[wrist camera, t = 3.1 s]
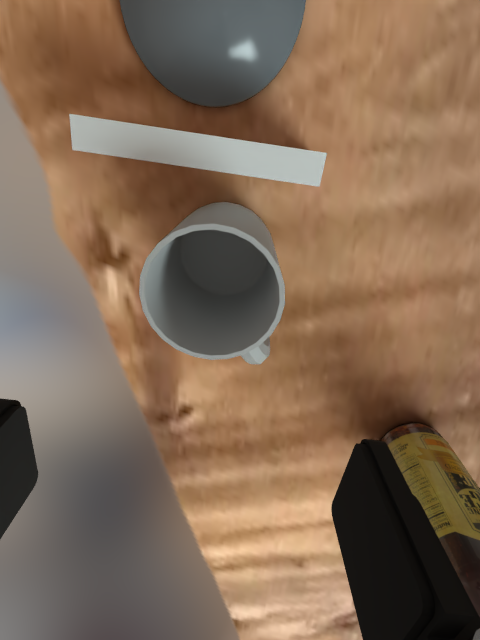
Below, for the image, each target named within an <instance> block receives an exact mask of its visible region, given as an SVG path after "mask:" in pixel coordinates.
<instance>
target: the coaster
mask: <svg viewBox="0 0 480 640" xmlns="http://www.w3.org/2000/svg"><path fill="white" fill-rule="evenodd" d="M305 2H306V0H120V5H121V11H122V15H123V19H124V22H125V26H126V29H127V31H128V34H129V37H130V39H131V42H132V44H133V46H134V48H135V50H136V52H137V54H138V55H139V57H140V58H141V60H142V62H143V63H144V65H145V66H146V67H147V69H148V70H149V71H150V72H151V74H152V75H153V76H154V77H155V78H156V79H157V80H158V81H159V82H160V83H161V84H162V85H163V86H164V87H166V88H167V89H168V90H170V91H171V92H172V93H173V94H175V95H177V96H178V97H180V98H182V99H184V100H186V101H188V102H191V103H193V104H197V105H201V106H205V107H226V106H231V105H235V104H238V103H241V102H243V101H246V100H248V99H249V98H251V97H253V96H255V95H256V94H258V93H259V92H260V91H261V90H263V89H264V88H265V87H266V86H267V85H268V84H269V83H270V82H271V81H272V80H273V79H274V78H275V77H276V75H277V74H278V73H279V72H280V70H281V69H282V68H283V66H284V64H285V62H286V61H287V59H288V57H289V55H290V53H291V51H292V49H293V47H294V44H295V42H296V39H297V36H298V33H299V30H300V27H301V24H302V19H303V14H304V10H305Z"/></svg>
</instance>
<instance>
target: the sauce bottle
mask: <svg viewBox="0 0 480 640" xmlns="http://www.w3.org/2000/svg"><path fill="white" fill-rule="evenodd" d="M381 441H384V442H386V444H387V445H388V447H389V449H390V451H391V453H392V455H393V457H394V459H395V461H396V463H397V465H398V467H399V468H400V470H401V472H402V474H403V476H404V478H405V480H406V482H407V484H408V486H409V488H410V490H411V492H412V494H413V495H414V496H416V497H417V499H418V500H419V502H420V503H421V505H422V507H423V509H424V511H425V513H426V515H427V517H428V519H429V521H430V523H431V525H432V526H433V528H434V530H435V532H436V534H437V536H438V538H439V540H440V542H441V544H442V546H443V548H444V550H445V552H446V553H447V555H448V557H449V559H450V561H451V563H452V565H453V567H454V569H455V571H456V573H457V575H458V577H459V579H460V580H461V582H462V584H463V586H464V588H465V590H466V592H467V594H468V596H469V598H470V600H471V602H472V604H473V606H474V607H475V609H476V611H477V613H478V615H479V617H480V488H479V487H478V486H477V484H476V483H475V481H474V480H473V478H472V477H471V476H470V474H469V473H468V471H467V470H466V468H465V467H464V465H463V464H462V462H461V461H460V460H459V458H458V457H457V455H456V454H455V452H454V451H453V450H452V448H451V447H450V445H449V444H448V442H447V441H446V440H445V439H443V437H442V436H441V435H440V434H439V433H438V432H437V431H436V430H434V429H433V428H431V427H429V426H426V425H423V424H420V423H411V424H408V425H402V426H398V427H396V428H395V429H393V430H391V431H389V432H388V433H387V434H386V435H385V436H384V437H383V438H382V440H381Z"/></svg>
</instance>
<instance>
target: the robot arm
mask: <svg viewBox="0 0 480 640" xmlns="http://www.w3.org/2000/svg"><path fill="white" fill-rule="evenodd" d="M37 478H38V470H37V465H36V460H35V455H34V449H33V444H32V439H31V434H30V429H29V423H28V418H27V413H26V409H25V408H24V407H22V406H21V404H20V402H19V401H16V400H8V399H0V539H1V537H2V536H3V534H4V533H5V531H6V530H7V528H8V527H9V525H10V523H11V522H12V520H13V519H14V517H15V516H16V514H17V513H18V511H19V509H20V508H21V506H22V505H23V503H24V502H25V500H26V499H27V497H28V496H29V494H30V493H31V491H32V489H33V488H34V486H35V484H36V481H37ZM332 517H333V521H334V525H335V529H336V533H337V537H338V541H339V545H340V549H341V553H342V557H343V561H344V565H345V569H346V573H347V577H348V581H349V585H350V589H351V593H352V597H353V601H354V605H355V609H356V613H357V617H358V621H359V625H360V629H361V633H362V637H363V640H480V617H479V615H478V613H477V611H476V609H475V607H474V606H473V604H472V602H471V600H470V598H469V596H468V594H467V592H466V590H465V588H464V586H463V584H462V582H461V580H460V579H459V577H458V575H457V573H456V571H455V569H454V567H453V565H452V563H451V561H450V559H449V557H448V555H447V553H446V552H445V550H444V548H443V546H442V544H441V542H440V540H439V538H438V536H437V534H436V532H435V530H434V528H433V526H432V525H431V523H430V521H429V519H428V517H427V515H426V513H425V511H424V509H423V507H422V505H421V503H420V502H419V500H418V499H417V497H416V496H414V495H413V494H412V492H411V490H410V488H409V486H408V484H407V482H406V480H405V478H404V476H403V474H402V472H401V470H400V468H399V467H398V465H397V463H396V461H395V459H394V457H393V455H392V453H391V451H390V449H389V447H388V445H387V444H386V442H384V441H378V440H369V439H363V440H362V441H361V443H360V444H356V445H355V446H354V449H353V452H352V454H351V457H350V459H349V462H348V464H347V467H346V469H345V472H344V474H343V477H342V480H341V482H340V485H339V487H338V490H337V492H336V495H335V497H334V500H333V503H332Z"/></svg>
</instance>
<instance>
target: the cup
mask: <svg viewBox="0 0 480 640" xmlns="http://www.w3.org/2000/svg"><path fill="white" fill-rule="evenodd" d="M139 295H140V299H141V304H142V308H143V312H144V313H145V315H146V317H147V319H148V321H149V323H150V325H151V327H152V328H153V329H154V330H155V331H156V332H157V334H158V335H159V336H160V337H161V338H162V339H163V340H164V341H166V342H167V343H168V344H170V345H171V346H173V347H174V348H175V349H177V350H179V351H181V352H184V353H186V354H189V355H191V356H193V357H199V358H204V359H210V360H214V359H229V358H233V357H236V356H240V355H241V356H242V358H243V359H244V360H245V361H246V362H248V363H250V364H261V363H262V362H263V361H264V360H265V359H266V358H267V357H268V356H269V355H270V339H269V336H270V335H271V334H272V333H273V331H274V329H275V328H276V326H277V324H278V323H279V321H280V319H281V315H282V312H283V308H284V305H285V285H284V281H283V277H282V274H281V270H280V266H279V263H278V259H277V255H276V251H275V248H274V244H273V241H272V238H271V234H270V232H269V231H268V229H267V227H266V226H265V224H264V223H263V221H262V220H261V219H260V218H259V217H258V216H257V215H256V214H255V213H254V212H253V211H251V210H249V209H247V208H245V207H243V206H241V205H239V204H234V203H229V202H218V203H211V204H208V205H206V206H203V207H200V208H198V209H197V210H195V211H194V212H193V213H191V214H190V215H189V216H187V217H186V218H185V219H184V220H183V221H182V222H181V223H180V224H179V225H177V226H176V227H175V228H174V229H173V230H172V231H171V232H170V233H169V234H168V235H167V236H165V237H164V238H163V239H162V240H161V241H160V242H159V243H158V244H157V245H156V247H155V248H154V249H153V251H152V252H151V253H150V255H149V256H148V257H147V259H146V261H145V264H144V267H143V270H142V272H141V275H140V289H139Z"/></svg>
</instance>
